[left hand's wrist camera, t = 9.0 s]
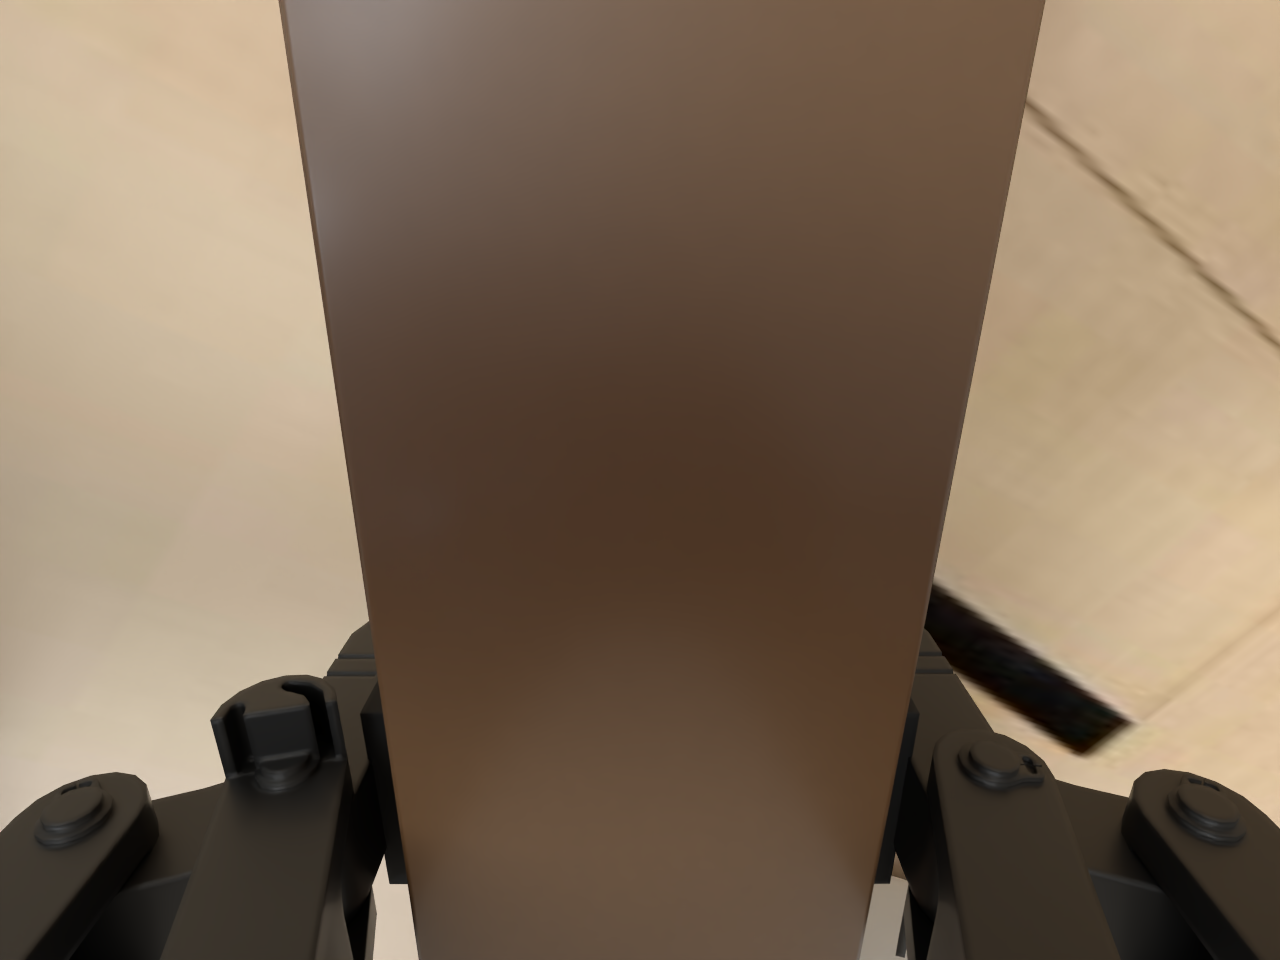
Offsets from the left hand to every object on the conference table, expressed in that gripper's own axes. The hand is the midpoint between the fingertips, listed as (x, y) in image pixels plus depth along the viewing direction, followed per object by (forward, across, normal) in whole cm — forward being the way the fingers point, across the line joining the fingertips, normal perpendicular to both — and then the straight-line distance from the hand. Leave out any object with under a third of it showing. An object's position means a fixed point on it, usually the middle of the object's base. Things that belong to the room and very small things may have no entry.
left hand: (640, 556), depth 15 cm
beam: (0, 0, -24) cm, 24 cm away
